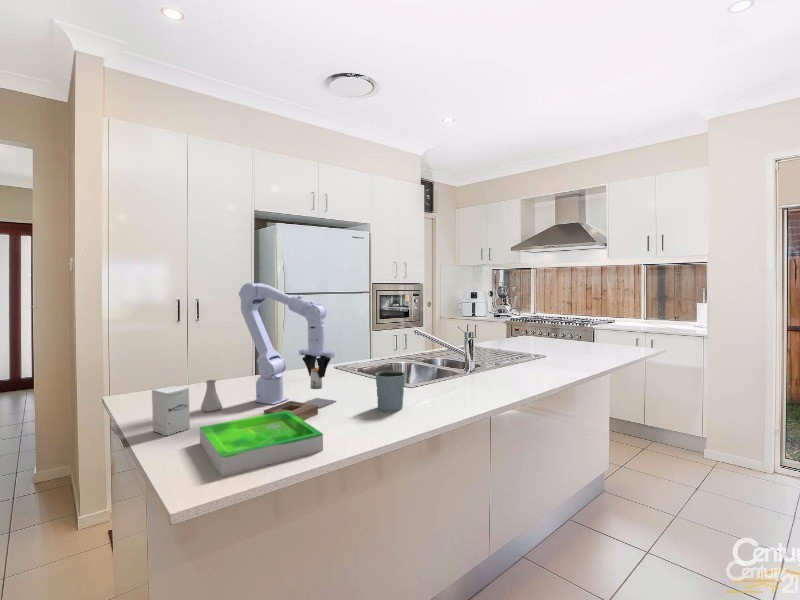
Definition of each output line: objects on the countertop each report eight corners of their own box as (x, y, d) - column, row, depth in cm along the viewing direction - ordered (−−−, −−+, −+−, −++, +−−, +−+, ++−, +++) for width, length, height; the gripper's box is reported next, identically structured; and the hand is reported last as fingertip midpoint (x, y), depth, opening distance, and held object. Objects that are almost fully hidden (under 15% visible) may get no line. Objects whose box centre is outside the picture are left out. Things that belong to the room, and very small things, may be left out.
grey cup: (370, 408, 149) (369, 373, 149) (390, 402, 156) (390, 369, 156) (391, 414, 142) (390, 378, 142) (411, 407, 150) (411, 373, 149)
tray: (200, 445, 119) (199, 427, 118) (288, 426, 133) (287, 410, 133) (221, 478, 98) (221, 456, 98) (323, 452, 113) (322, 433, 112)
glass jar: (308, 388, 153) (308, 368, 153) (315, 386, 157) (315, 367, 157) (317, 389, 152) (317, 369, 152) (324, 387, 155) (324, 368, 155)
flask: (226, 408, 150) (225, 380, 150) (205, 413, 145) (204, 384, 145) (217, 405, 155) (216, 377, 155) (196, 409, 150) (195, 381, 150)
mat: (300, 405, 154) (300, 404, 154) (316, 398, 162) (316, 397, 162) (320, 408, 150) (320, 407, 149) (336, 401, 157) (336, 400, 157)
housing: (264, 419, 138) (263, 410, 138) (290, 409, 149) (290, 400, 149) (292, 425, 132) (292, 415, 132) (317, 414, 143) (317, 405, 143)
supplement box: (166, 436, 124) (165, 393, 123) (152, 432, 128) (150, 389, 127) (190, 429, 130) (189, 387, 129) (176, 425, 134) (175, 384, 133)
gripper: (292, 338, 154) (293, 376, 155) (325, 341, 147) (325, 380, 148) (306, 336, 160) (307, 372, 161) (337, 338, 153) (338, 376, 154)
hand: (316, 376), depth 155 cm, fingers closed on glass jar, 4 cm apart
